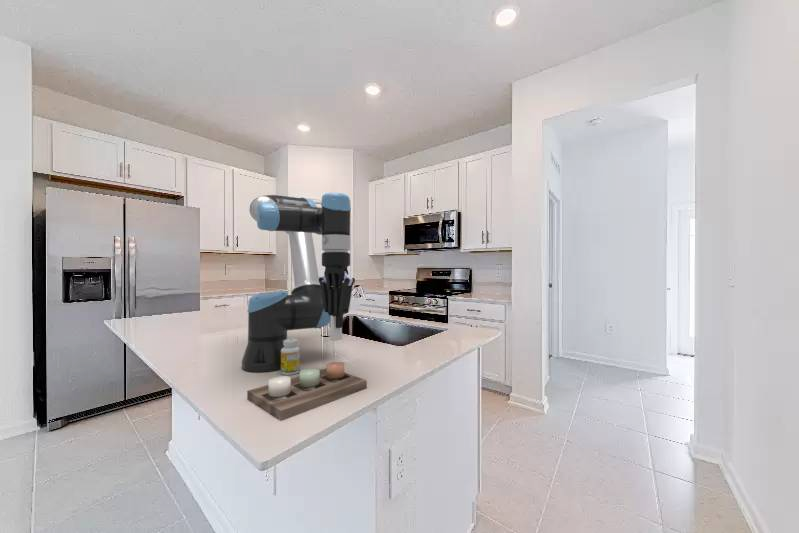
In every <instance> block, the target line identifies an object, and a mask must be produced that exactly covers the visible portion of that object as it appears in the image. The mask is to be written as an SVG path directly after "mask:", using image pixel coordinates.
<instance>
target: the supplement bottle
mask: <svg viewBox="0 0 799 533" xmlns="http://www.w3.org/2000/svg"><path fill="white" fill-rule="evenodd" d="M283 346H284V347H283V348H282V349H281V369H280V374H281V375H282V376H283V375H284V376H293V375H297V374H298V373H300V371H301V370H300V368H301V367H300V364H301V363H300V360H301V359H300V353H301V352H300V350H301V349H300V347H299V346H298V339H295V338H287V340H284V341H283Z"/></svg>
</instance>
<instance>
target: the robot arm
mask: <svg viewBox="0 0 799 533" xmlns="http://www.w3.org/2000/svg"><path fill="white" fill-rule="evenodd" d="M320 206H321V207H318V206H317V203H316V202H315V201H314V200H313V199H311V198H305V197H295V196H286V195H277V194H268V195H267V194H266V195H260V196H258V197H256V198H254V199H253V200H252V201H251V203H250V205H249V214H250V216H251V218H252V219H253V220H255V222H256V225H257V228H258V229H259V230H260V231H268V232H285V234H286V235H288V240H289V248H290V255H291V266H292V273H293V282H294V287H293V289H292V290H291V294H289V293H288V291H286V290H277V291H276V290H275V291H268V292H262V293H257V294H255V295H252V296H250V298H249V299H248V307H247V308H248V309H247V313H248V314H247V315H248V317H247V318H248V319H247V320H248V321H247V322H248V324H247V344H246V347H245V350H244V354H243V356H242V359H241V369H242V370H244V371H246V372H250V373H251V372H253V373H263V372H264V373H267V372H273V371H278V370H281V349H282V348H283V347H284V346H283V341H284V340H287V339H288V331H294V330H295V331H296V330H307V329H319V328H324V327H327V326H328V325H329V328H330V330H329V334H330V335H329V336H330V338H329V339H330V341H332V342H335V341H341V340H342V339H343V327H344V316H345V315H346V314H349V312H350V305H351V299H352V293H353V287H354V284H355V282H356V279H355V277H351V276H350V275H349V270H348V267H350V266H351V253H350V252H349V251H350V250H351V201H350V197H349V195H347V194H345V193H339V192H328V193H324V194H322V196H321V203H320ZM313 234H315V235H319V236H320V235H321V250H322V251H323V252H322V253H321V265H322V267H325V268H324V272H323V276H322V277H320V275H319V270H318V265H317V264H318V263H317V258H316V250H315V244H314V239H313V238H314V237H313Z"/></svg>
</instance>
